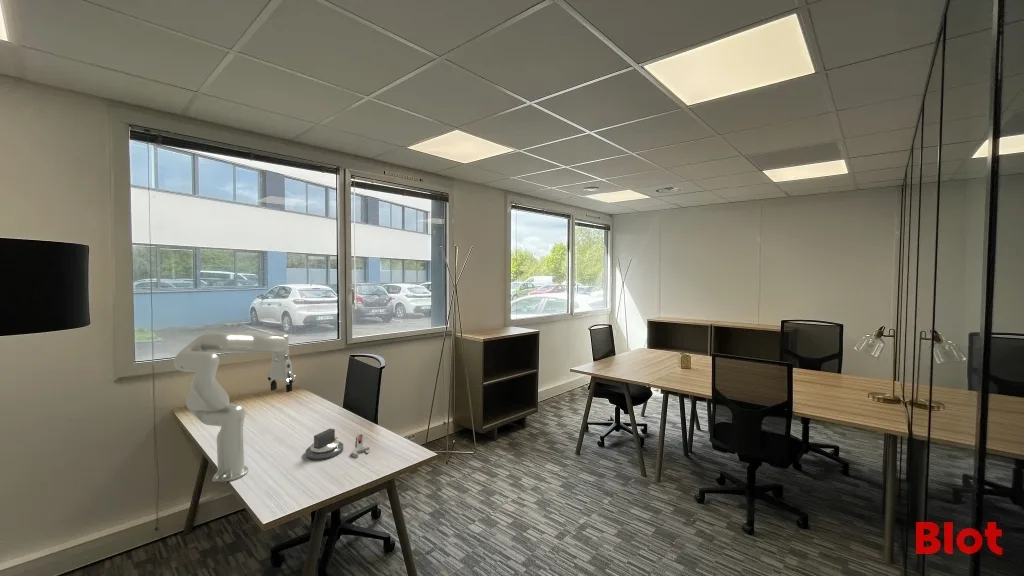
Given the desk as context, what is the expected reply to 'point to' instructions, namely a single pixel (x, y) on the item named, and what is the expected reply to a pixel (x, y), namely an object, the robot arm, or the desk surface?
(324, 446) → the dial
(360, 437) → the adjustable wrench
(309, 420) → the desk surface
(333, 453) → the dial base
